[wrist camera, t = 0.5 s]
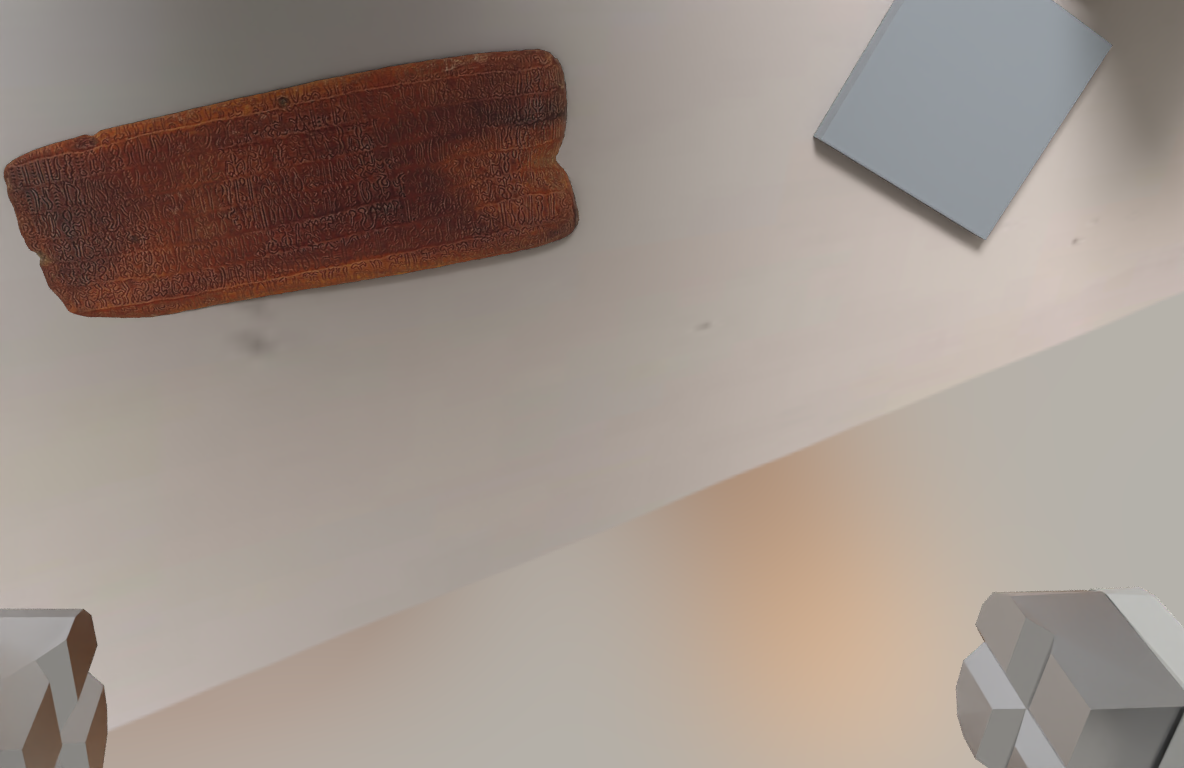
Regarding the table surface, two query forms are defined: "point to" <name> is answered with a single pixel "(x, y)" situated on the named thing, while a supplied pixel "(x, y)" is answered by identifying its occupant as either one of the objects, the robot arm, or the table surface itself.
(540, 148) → the wooden tablet
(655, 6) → the table surface
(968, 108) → the slate mat
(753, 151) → the table surface
